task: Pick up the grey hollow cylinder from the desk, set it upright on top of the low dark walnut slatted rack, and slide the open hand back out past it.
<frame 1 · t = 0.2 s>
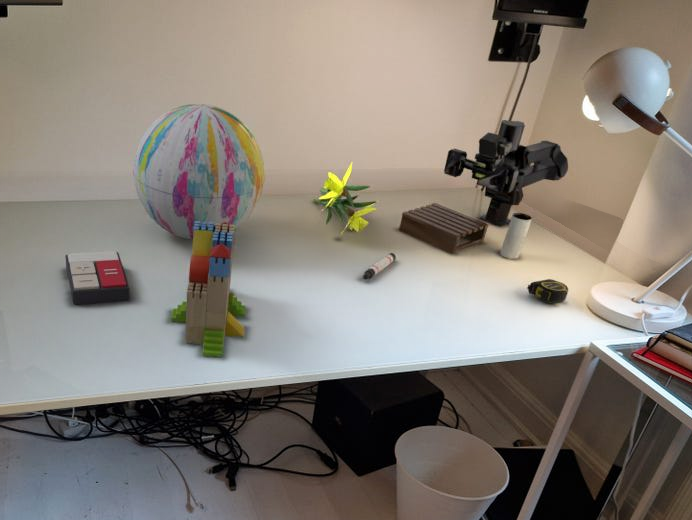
hand: (461, 176, 158), 17 cm above the table, tool horizontal, fingers open, 9 cm apart
grey hollow cylinder: (508, 255, 163), on the table
marker: (377, 271, 149), on the table
block set: (208, 316, 127), on the table
tape measure: (543, 298, 145), on the table
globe: (196, 235, 158), on the table
calculator: (97, 285, 133), on the table
daffodil flowers: (330, 222, 171), on the table
rack: (440, 236, 169), on the table
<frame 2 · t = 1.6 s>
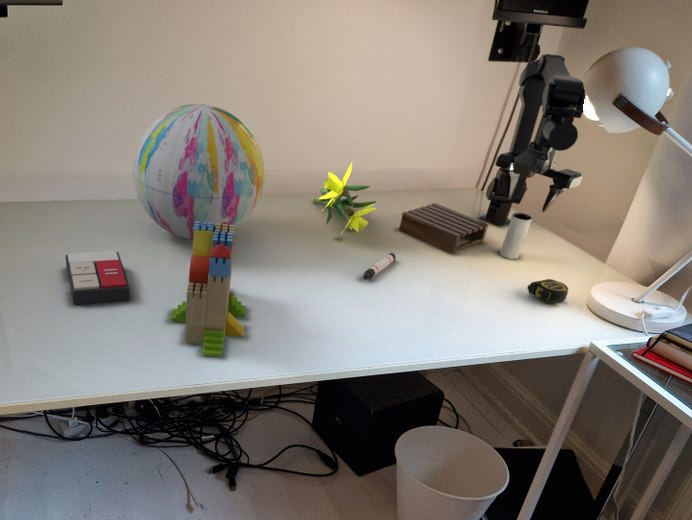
hand: (525, 205, 155), 13 cm above the table, tool pointing down, fingers open, 9 cm apart
nothing on the table moved.
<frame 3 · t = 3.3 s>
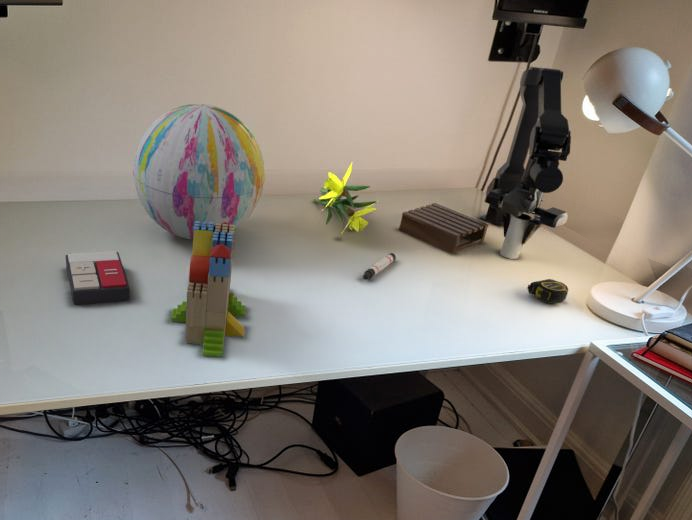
hand: (514, 240, 160), 4 cm above the table, tool pointing down, fingers closed on grey hollow cylinder, 4 cm apart
grey hollow cylinder: (508, 255, 163), on the table, touching gripper
everything else where it was.
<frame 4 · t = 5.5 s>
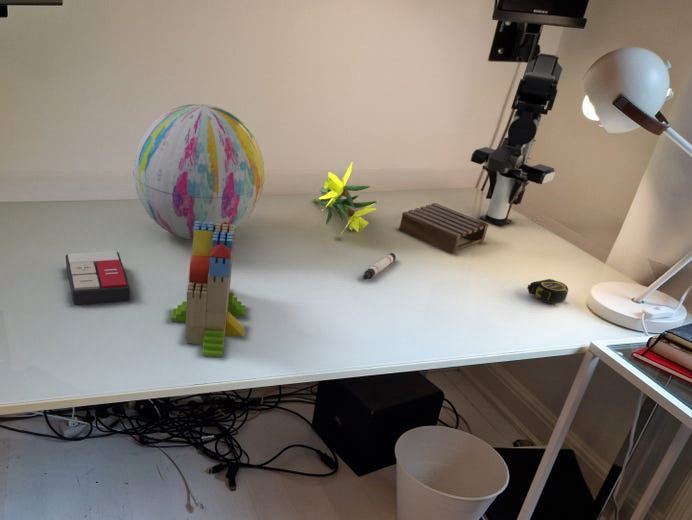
hand: (500, 200, 158), 13 cm above the table, tool pointing down, fingers closed on grey hollow cylinder, 4 cm apart
grey hollow cylinder: (495, 216, 160), point 9 cm above the table, touching gripper
everything else where it was.
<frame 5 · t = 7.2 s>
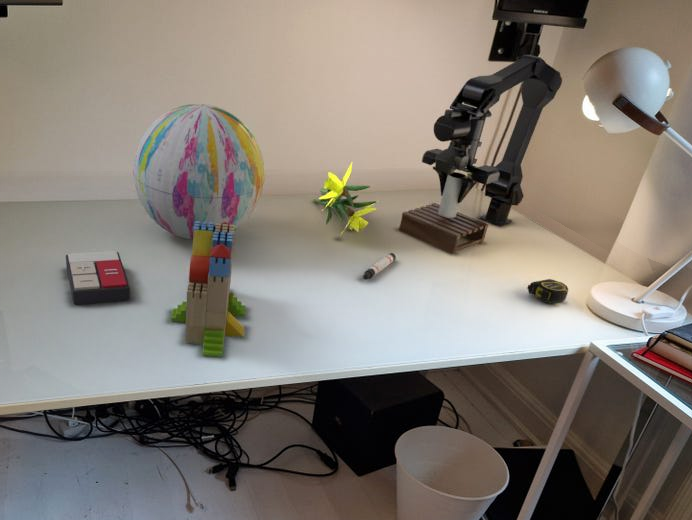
hand: (450, 199, 164), 10 cm above the table, tool pointing down, fingers closed on grey hollow cylinder, 4 cm apart
grey hollow cylinder: (446, 215, 166), point 6 cm above the table, touching gripper
everything else where it was.
when the fingers open (9 cm above the table, at t = 7.9 s): grey hollow cylinder stays where it is, resting on rack.
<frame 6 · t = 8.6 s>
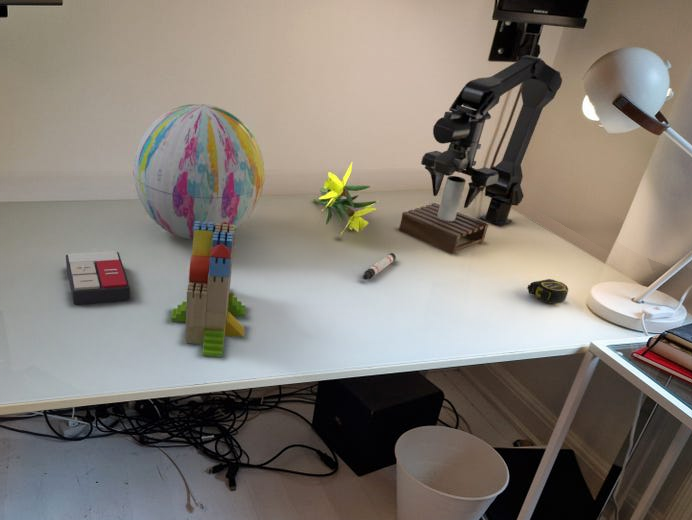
hand: (450, 201, 164), 9 cm above the table, tool pointing down, fingers open, 9 cm apart
grey hollow cylinder: (445, 219, 166), point 5 cm above the table, touching rack
everything else where it was.
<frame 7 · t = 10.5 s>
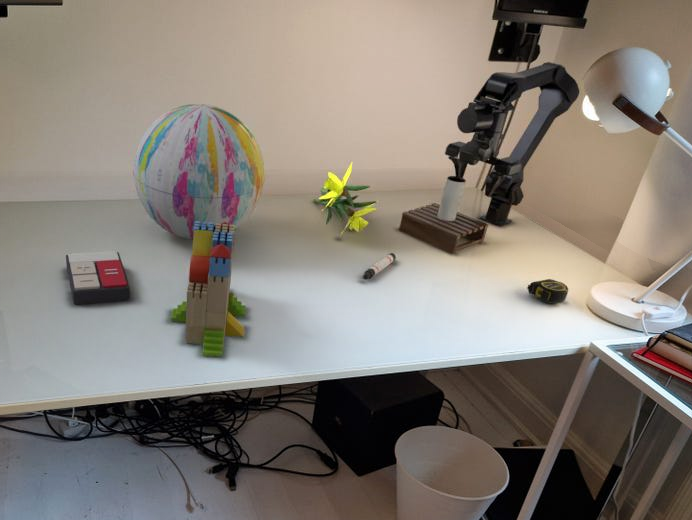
hand: (473, 190, 169), 11 cm above the table, tool pointing down, fingers open, 9 cm apart
nothing on the table moved.
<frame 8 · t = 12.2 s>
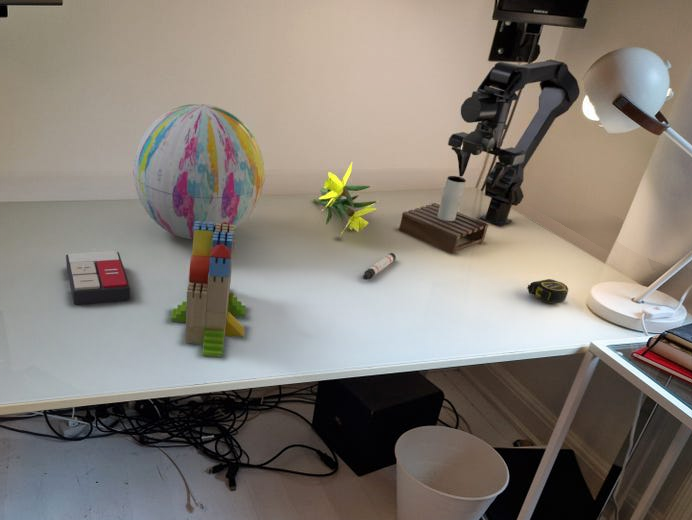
hand: (476, 181, 167), 13 cm above the table, tool pointing down, fingers open, 9 cm apart
nothing on the table moved.
at the end: grey hollow cylinder inside the target area on the rack (0.1 cm from its centre), point 4.8 cm above the rack's base; grey hollow cylinder tilted 0°; the gripper is holding nothing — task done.
